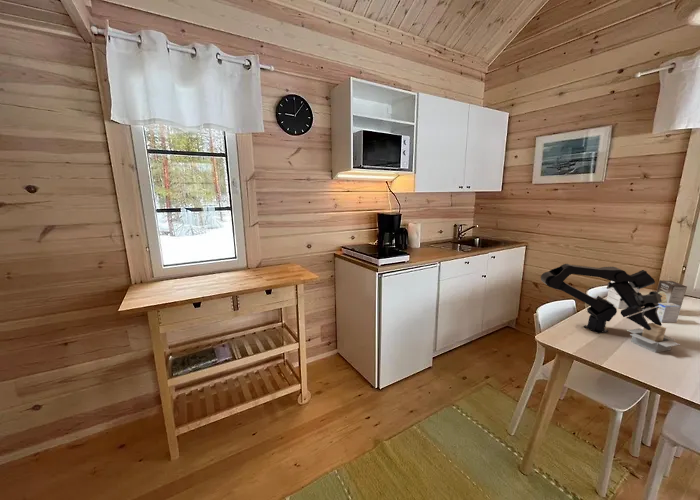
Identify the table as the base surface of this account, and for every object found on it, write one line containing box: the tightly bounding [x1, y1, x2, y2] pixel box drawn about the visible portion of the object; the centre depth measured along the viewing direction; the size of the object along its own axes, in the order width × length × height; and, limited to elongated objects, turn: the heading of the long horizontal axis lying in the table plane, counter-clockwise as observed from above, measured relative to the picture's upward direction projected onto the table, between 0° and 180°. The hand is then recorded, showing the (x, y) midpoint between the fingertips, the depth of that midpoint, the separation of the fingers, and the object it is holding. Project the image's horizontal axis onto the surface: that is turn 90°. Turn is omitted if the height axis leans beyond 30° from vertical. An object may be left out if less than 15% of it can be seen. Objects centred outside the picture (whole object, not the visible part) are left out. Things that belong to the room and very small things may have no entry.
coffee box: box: [656, 279, 688, 310], centre depth 154 cm, size 9×6×16 cm
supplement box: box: [606, 281, 641, 310], centre depth 161 cm, size 9×9×15 cm
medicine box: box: [655, 303, 682, 323], centre depth 144 cm, size 8×4×9 cm, turn 92°
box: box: [642, 322, 667, 342], centre depth 120 cm, size 4×4×9 cm
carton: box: [626, 327, 681, 353], centre depth 120 cm, size 14×14×4 cm
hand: (655, 327), depth 119 cm, fingers open, 9 cm apart
